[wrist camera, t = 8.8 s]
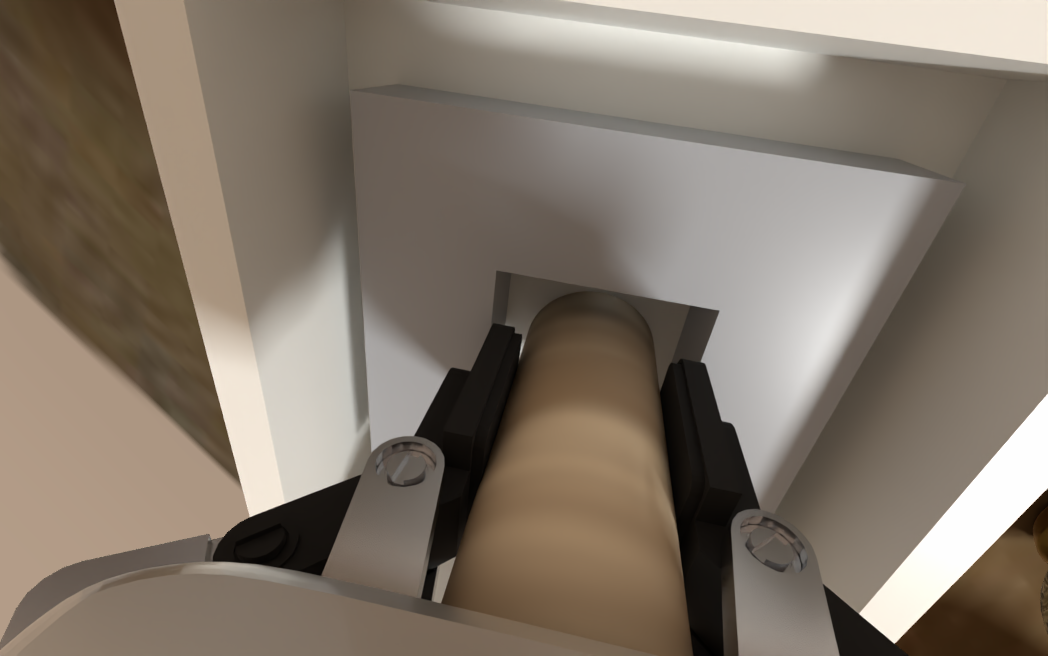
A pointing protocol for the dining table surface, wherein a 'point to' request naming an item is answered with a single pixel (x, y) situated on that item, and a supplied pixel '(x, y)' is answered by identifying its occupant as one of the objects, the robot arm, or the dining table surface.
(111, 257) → the dining table surface
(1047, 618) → the cup
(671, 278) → the box
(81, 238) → the dining table surface
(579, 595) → the peg
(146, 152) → the dining table surface
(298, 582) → the robot arm
